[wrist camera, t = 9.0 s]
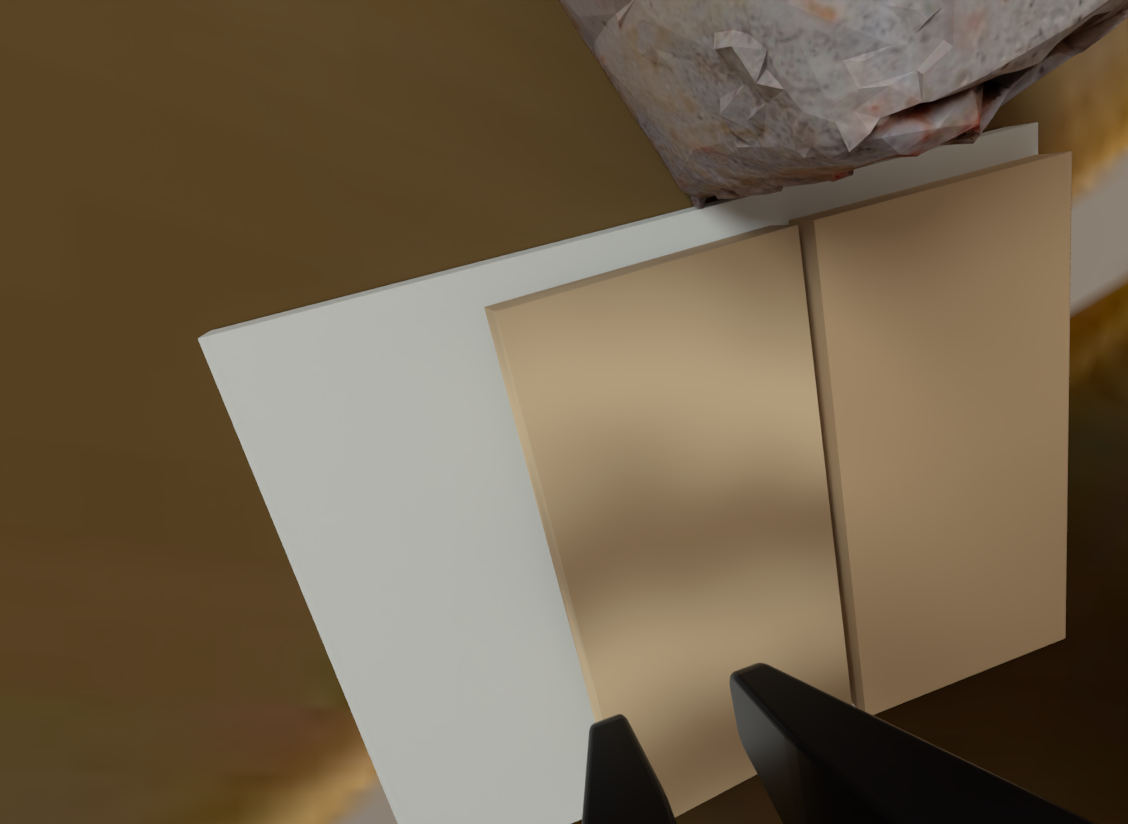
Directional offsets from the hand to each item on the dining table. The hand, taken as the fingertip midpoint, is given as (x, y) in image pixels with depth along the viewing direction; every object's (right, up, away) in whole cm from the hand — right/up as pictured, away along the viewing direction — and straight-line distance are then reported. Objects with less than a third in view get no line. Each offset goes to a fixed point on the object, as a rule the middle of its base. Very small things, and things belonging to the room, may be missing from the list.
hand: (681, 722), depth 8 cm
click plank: (+2, 0, +9) cm, 9 cm away
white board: (+2, +1, +11) cm, 11 cm away
